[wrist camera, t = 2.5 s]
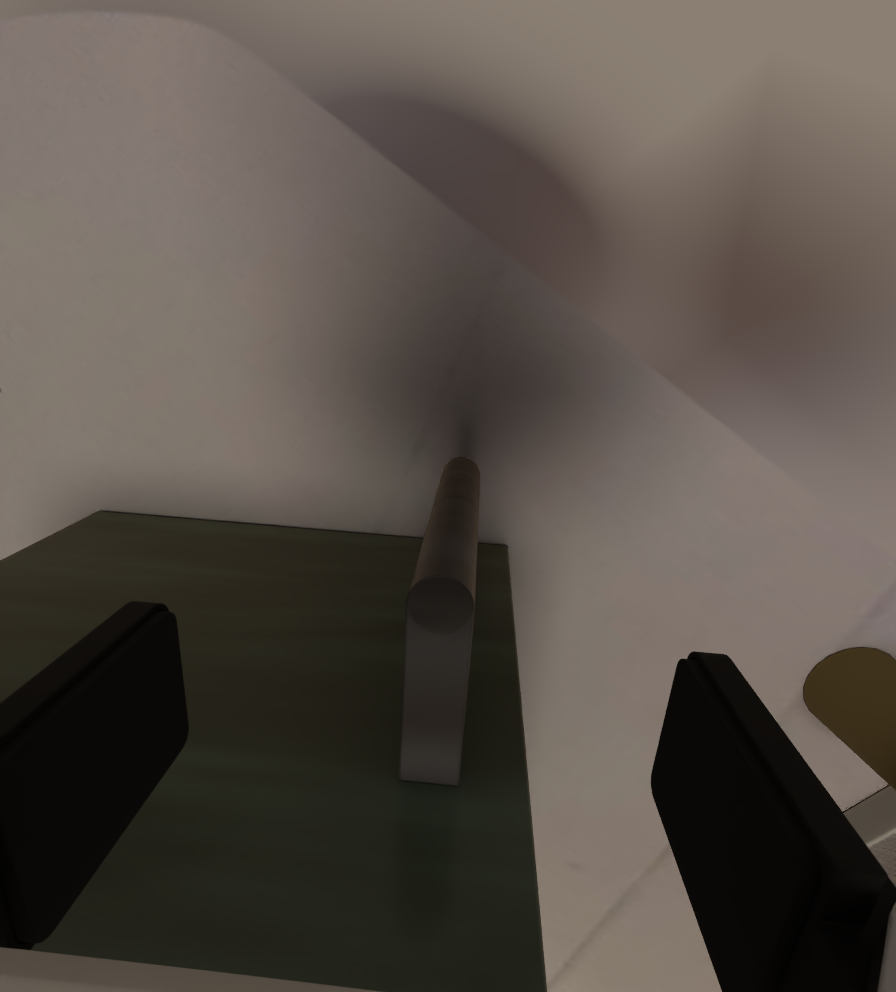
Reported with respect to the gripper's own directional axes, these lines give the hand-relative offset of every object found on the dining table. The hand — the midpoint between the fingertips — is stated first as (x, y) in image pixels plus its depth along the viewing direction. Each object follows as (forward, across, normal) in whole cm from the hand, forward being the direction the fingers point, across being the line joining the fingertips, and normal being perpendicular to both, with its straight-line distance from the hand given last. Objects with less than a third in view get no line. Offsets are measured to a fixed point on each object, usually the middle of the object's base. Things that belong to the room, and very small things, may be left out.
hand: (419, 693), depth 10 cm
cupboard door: (+22, +10, +3) cm, 24 cm away
